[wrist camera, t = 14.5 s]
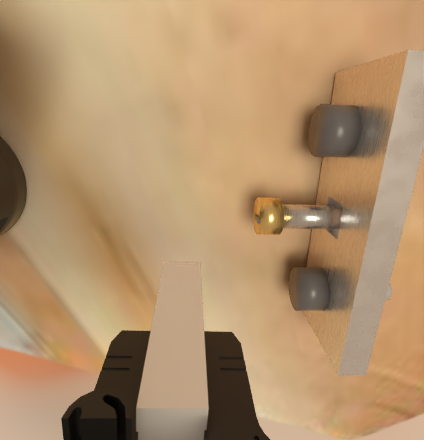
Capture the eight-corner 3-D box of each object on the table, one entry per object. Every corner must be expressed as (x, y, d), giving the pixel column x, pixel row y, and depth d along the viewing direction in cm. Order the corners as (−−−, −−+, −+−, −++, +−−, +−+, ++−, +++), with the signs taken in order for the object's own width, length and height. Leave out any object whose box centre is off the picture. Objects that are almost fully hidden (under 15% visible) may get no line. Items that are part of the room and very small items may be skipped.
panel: (300, 306, 43) (337, 375, 31) (335, 72, 33) (408, 49, 22) (358, 306, 43) (416, 374, 32) (410, 76, 34) (519, 55, 22)
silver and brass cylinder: (249, 226, 35) (256, 239, 31) (252, 193, 34) (259, 202, 30) (339, 228, 36) (356, 241, 32) (345, 195, 34) (363, 205, 31)
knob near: (306, 153, 33) (324, 159, 29) (312, 105, 32) (332, 102, 27) (402, 156, 34) (435, 162, 29) (413, 109, 32) (450, 107, 28)
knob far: (287, 295, 39) (299, 319, 34) (291, 260, 37) (305, 280, 33) (369, 295, 40) (392, 319, 35) (377, 261, 38) (403, 281, 33)
